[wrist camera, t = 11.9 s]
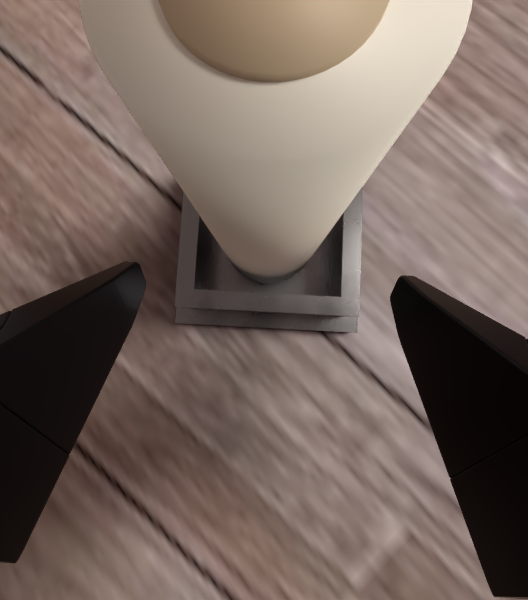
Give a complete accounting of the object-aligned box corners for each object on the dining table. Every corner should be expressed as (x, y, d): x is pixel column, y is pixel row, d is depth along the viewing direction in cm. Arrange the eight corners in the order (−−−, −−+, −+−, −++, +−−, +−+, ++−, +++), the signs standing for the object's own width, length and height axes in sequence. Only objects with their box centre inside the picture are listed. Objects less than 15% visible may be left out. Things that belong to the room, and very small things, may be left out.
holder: (351, 331, 17) (377, 336, 13) (180, 322, 17) (154, 324, 13) (356, 166, 18) (381, 123, 14) (192, 159, 18) (171, 114, 14)
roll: (254, 300, 16) (202, 235, 3) (208, 225, 17) (-1, -95, 4) (331, 253, 17) (568, 11, 3) (283, 180, 17) (335, -283, 4)
